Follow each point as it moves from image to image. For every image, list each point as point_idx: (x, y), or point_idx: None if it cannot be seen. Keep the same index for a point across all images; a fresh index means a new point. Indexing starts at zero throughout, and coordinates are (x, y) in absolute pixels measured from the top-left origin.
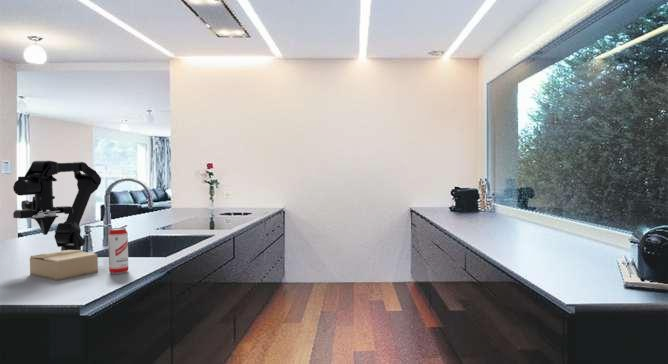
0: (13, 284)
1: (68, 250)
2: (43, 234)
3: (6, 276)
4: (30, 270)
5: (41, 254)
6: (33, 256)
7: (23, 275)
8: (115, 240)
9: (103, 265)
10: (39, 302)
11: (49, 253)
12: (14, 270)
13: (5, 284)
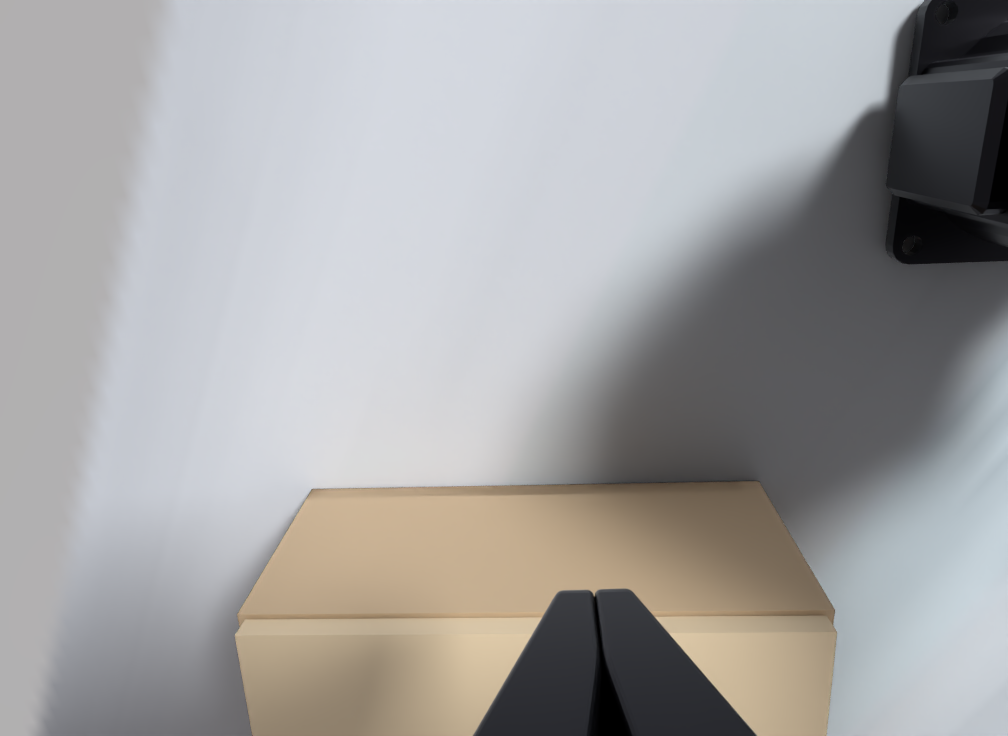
0: (96, 730)
1: (761, 714)
2: (556, 599)
3: (113, 361)
4: (298, 520)
5: (374, 670)
6: (249, 705)
7: (251, 470)
8: None
9: (959, 715)
10: None
11: (473, 703)
12: (264, 63)
13: (47, 680)
